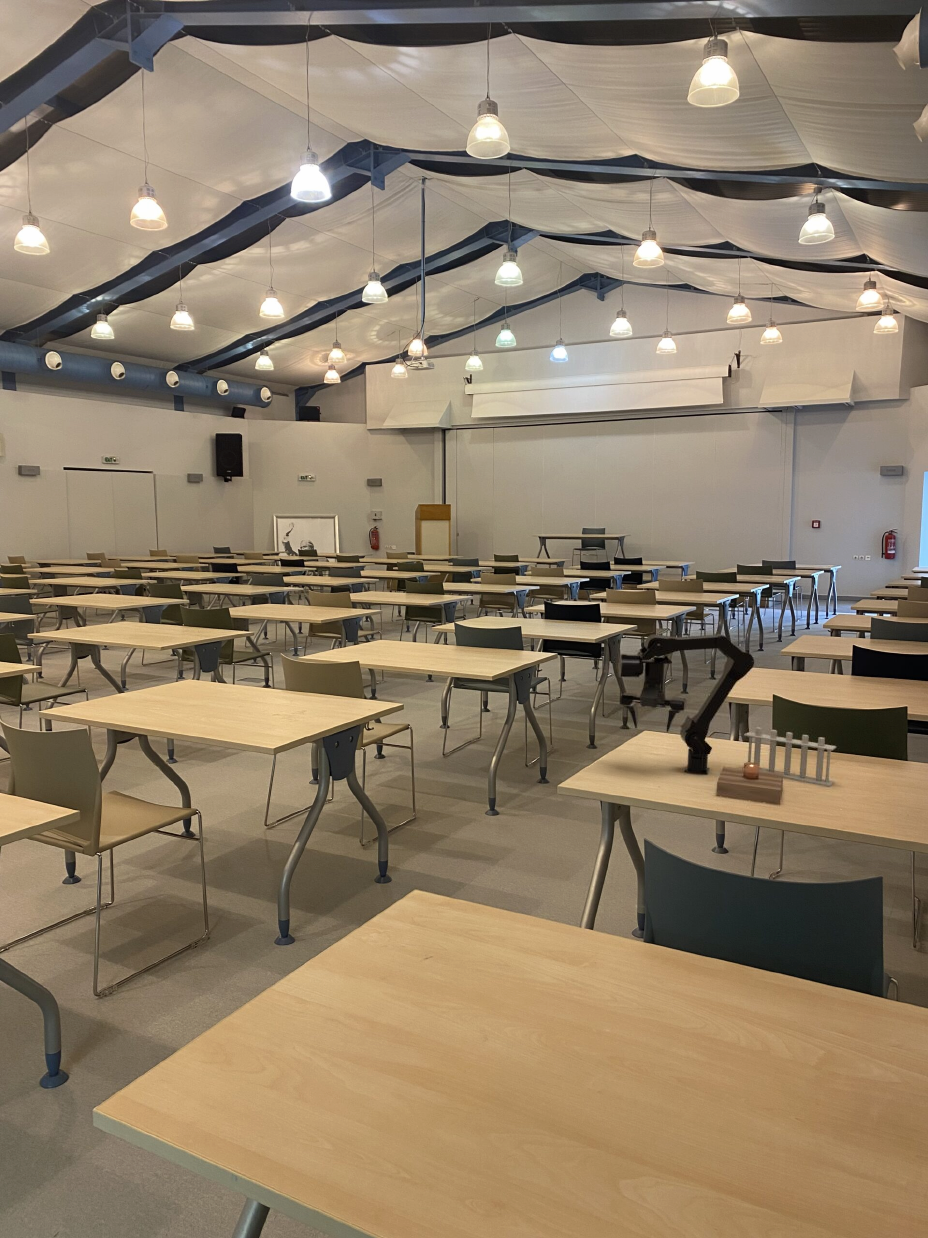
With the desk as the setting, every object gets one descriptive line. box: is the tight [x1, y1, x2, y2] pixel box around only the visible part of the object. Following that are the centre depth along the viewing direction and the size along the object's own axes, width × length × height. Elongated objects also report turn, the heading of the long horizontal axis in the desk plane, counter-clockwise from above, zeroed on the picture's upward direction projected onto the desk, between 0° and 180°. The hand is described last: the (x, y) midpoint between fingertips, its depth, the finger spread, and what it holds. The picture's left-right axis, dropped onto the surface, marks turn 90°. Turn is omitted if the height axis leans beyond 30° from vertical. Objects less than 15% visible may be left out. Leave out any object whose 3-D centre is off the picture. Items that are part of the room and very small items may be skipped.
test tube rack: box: [741, 726, 837, 788], centre depth 242 cm, size 25×4×13 cm, turn 53°
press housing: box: [716, 766, 784, 806], centre depth 227 cm, size 16×16×4 cm
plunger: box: [743, 761, 760, 779], centre depth 227 cm, size 4×4×8 cm
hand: (651, 730), depth 246 cm, fingers open, 9 cm apart
